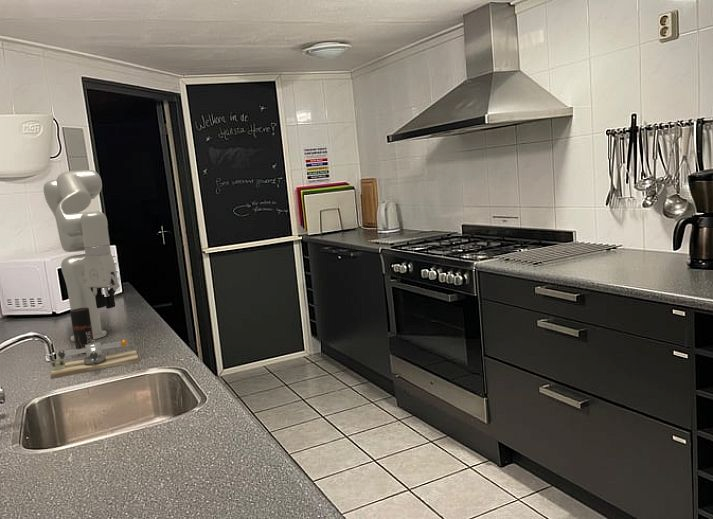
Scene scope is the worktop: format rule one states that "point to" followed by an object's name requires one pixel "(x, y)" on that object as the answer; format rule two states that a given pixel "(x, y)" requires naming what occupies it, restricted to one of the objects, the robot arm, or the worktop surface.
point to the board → (79, 366)
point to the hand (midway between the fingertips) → (106, 307)
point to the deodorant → (81, 327)
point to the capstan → (93, 351)
